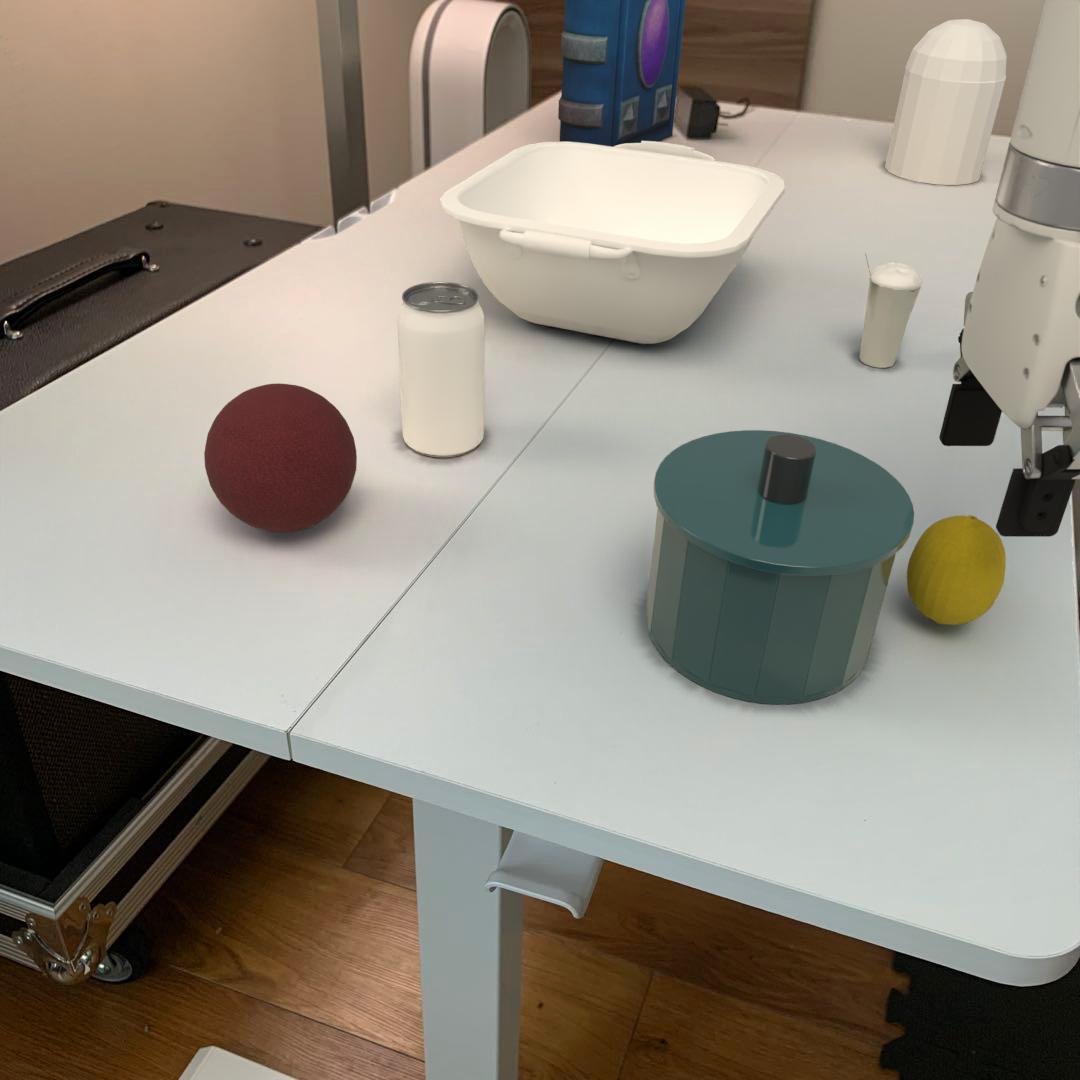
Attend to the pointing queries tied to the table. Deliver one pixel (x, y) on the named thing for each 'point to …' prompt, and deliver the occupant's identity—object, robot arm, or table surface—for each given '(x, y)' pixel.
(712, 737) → the table surface
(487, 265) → the white plastic basin
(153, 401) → the table surface
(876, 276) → the milkshake
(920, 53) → the container
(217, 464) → the decorative ball
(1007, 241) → the robot arm
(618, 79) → the book
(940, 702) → the table surface
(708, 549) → the pot lid
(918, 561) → the lemon
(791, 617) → the enamel pot
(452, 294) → the can
